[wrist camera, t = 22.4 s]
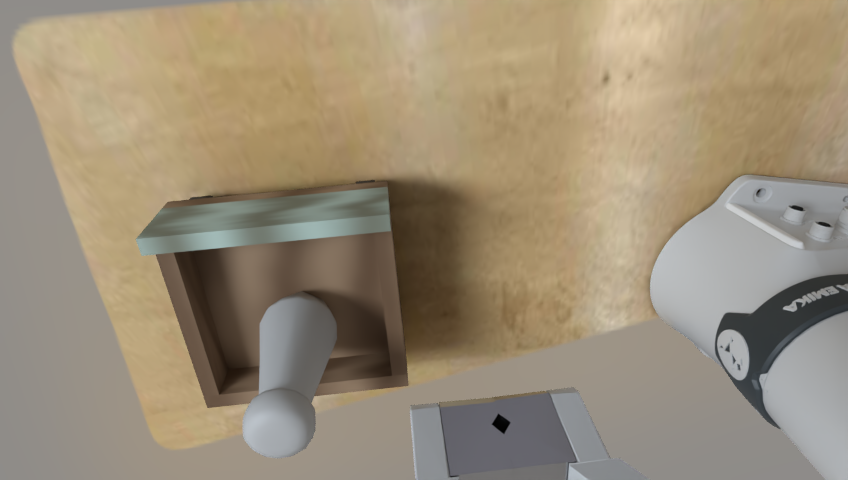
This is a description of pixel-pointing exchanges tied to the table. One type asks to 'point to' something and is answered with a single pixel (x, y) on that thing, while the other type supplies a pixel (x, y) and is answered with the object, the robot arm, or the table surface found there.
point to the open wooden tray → (282, 281)
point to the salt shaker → (289, 374)
